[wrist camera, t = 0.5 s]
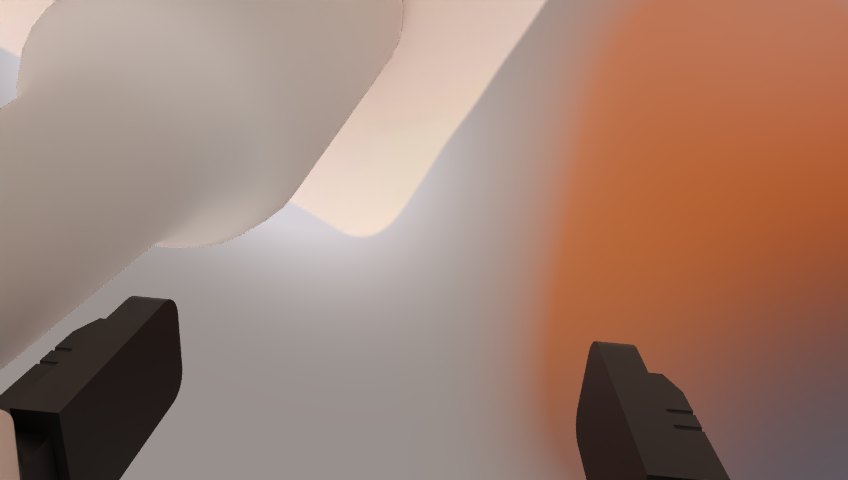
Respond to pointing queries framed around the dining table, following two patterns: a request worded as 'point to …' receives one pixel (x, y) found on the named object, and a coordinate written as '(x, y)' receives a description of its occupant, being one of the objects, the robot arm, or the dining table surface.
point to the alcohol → (165, 133)
